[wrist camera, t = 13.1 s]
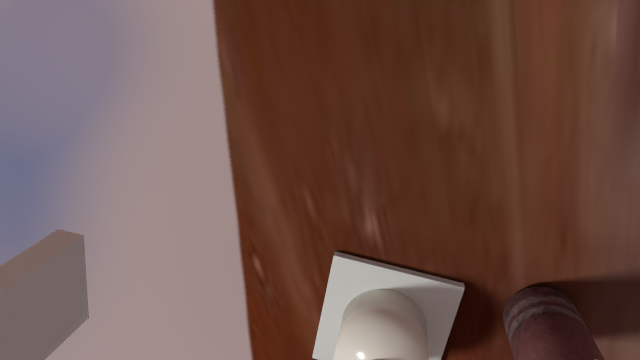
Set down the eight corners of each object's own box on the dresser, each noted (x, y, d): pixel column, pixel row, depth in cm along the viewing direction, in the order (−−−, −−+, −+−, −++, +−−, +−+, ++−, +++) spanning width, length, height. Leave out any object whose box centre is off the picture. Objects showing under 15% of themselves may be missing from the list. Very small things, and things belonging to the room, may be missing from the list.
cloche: (351, 280, 44) (339, 331, 37) (436, 301, 43) (442, 358, 36) (334, 347, 47) (321, 407, 40) (414, 369, 46) (415, 434, 39)
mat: (335, 251, 44) (333, 255, 44) (463, 283, 43) (464, 288, 42) (313, 352, 49) (312, 357, 48) (430, 384, 47) (430, 390, 47)
